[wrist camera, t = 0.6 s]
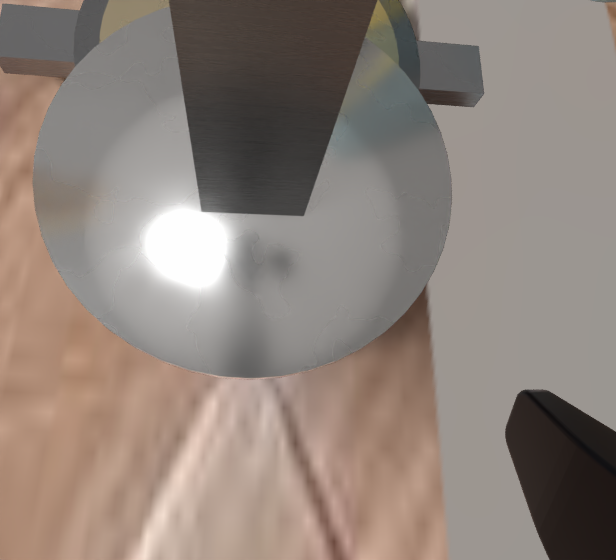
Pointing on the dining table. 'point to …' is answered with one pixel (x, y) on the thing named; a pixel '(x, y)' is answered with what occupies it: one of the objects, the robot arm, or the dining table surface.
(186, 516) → the dining table surface
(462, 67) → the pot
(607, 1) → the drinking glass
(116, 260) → the disc with square post
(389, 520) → the dining table surface
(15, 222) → the dining table surface
